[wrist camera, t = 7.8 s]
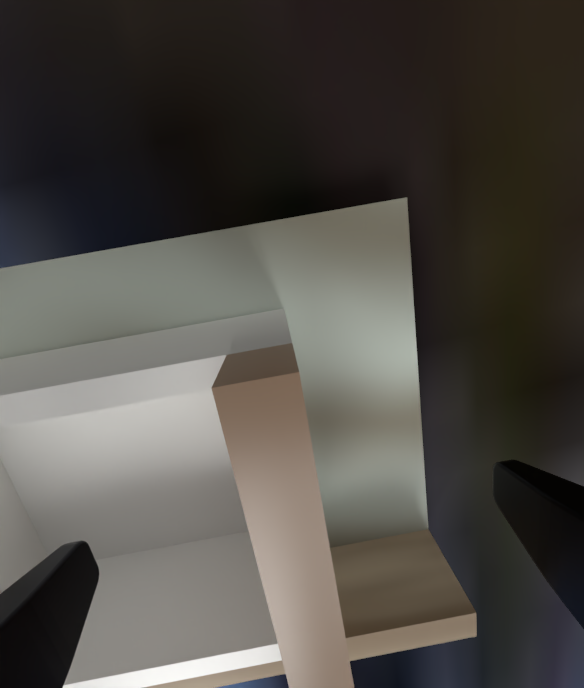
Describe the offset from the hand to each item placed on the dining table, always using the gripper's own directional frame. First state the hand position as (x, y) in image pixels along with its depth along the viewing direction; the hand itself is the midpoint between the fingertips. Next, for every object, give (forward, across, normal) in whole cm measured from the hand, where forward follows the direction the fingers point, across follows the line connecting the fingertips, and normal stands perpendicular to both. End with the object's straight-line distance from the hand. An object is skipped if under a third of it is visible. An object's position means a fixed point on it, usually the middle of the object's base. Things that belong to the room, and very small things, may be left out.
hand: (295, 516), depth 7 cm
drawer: (+4, +4, 0) cm, 6 cm away
